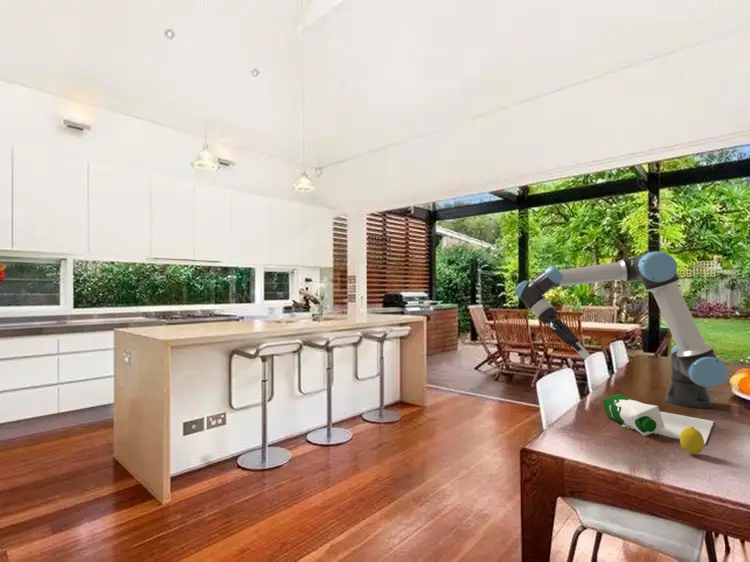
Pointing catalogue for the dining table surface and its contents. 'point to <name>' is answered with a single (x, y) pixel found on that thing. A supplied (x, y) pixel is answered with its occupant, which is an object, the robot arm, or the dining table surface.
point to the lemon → (691, 440)
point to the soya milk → (634, 414)
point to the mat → (682, 425)
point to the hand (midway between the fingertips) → (587, 357)
